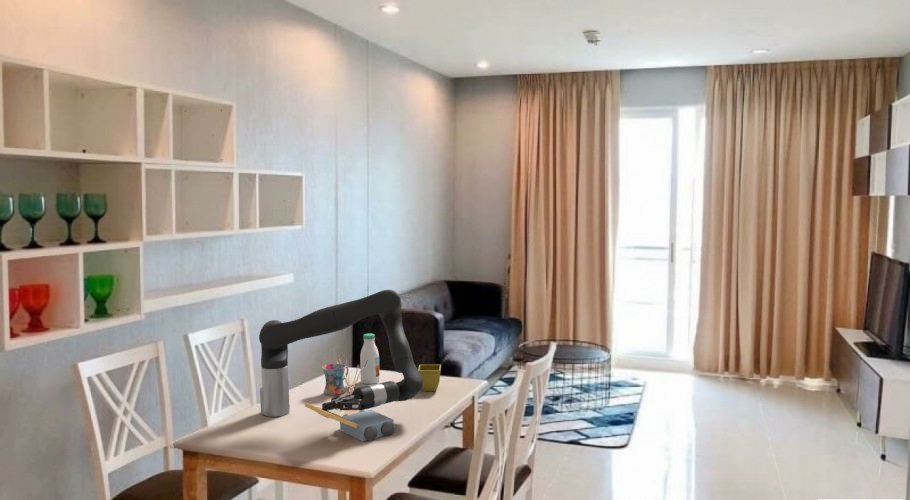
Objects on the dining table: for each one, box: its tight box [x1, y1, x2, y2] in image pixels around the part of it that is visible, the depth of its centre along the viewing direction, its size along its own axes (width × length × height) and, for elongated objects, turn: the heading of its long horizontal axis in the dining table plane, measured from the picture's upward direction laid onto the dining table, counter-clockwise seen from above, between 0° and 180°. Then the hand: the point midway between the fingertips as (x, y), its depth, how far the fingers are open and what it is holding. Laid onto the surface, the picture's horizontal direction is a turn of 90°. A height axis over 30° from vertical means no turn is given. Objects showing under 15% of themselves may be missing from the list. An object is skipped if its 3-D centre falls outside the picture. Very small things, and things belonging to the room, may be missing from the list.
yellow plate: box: [304, 402, 361, 429], centre depth 231 cm, size 2×15×14 cm
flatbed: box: [339, 409, 395, 442], centre depth 239 cm, size 12×16×4 cm
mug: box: [321, 363, 349, 396], centre depth 284 cm, size 12×9×11 cm
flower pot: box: [417, 364, 442, 392], centre depth 286 cm, size 9×9×9 cm
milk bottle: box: [359, 333, 381, 385], centre depth 297 cm, size 8×8×20 cm
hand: (323, 407), depth 228 cm, fingers closed
